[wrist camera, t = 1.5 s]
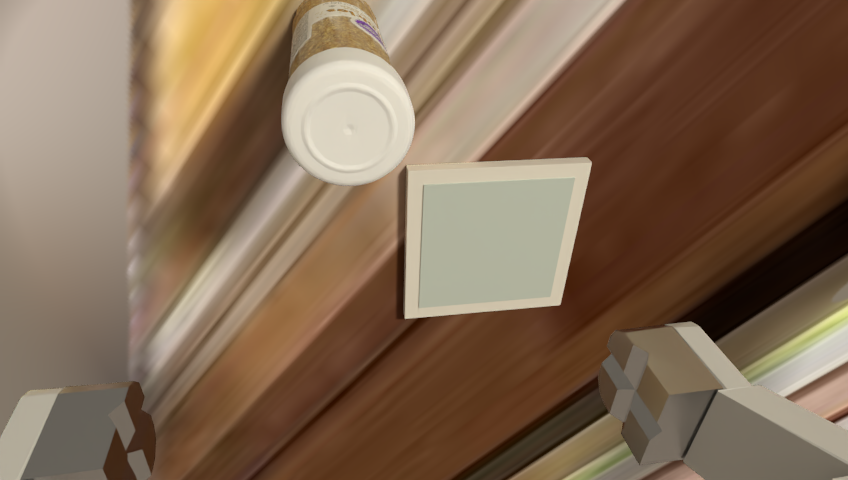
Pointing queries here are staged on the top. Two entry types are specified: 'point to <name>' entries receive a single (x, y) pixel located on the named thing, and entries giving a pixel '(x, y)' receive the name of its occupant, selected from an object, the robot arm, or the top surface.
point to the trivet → (490, 234)
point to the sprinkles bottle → (344, 96)
